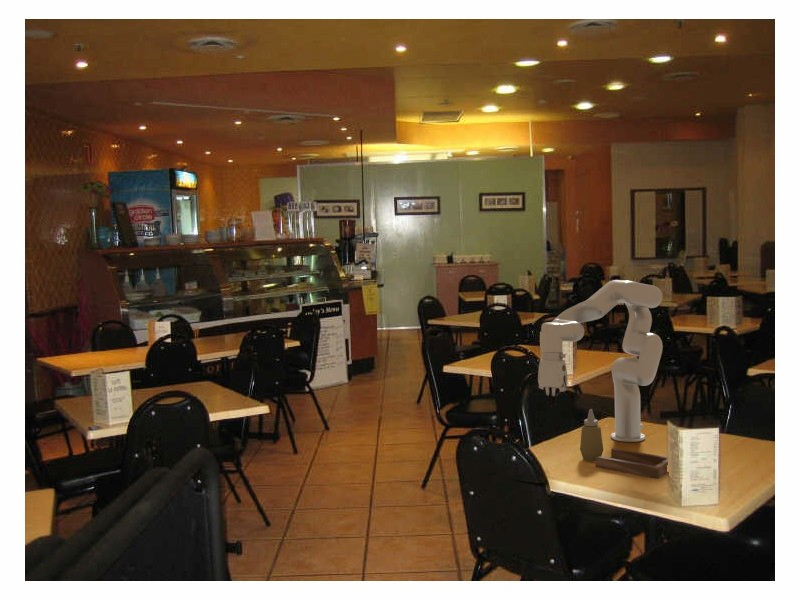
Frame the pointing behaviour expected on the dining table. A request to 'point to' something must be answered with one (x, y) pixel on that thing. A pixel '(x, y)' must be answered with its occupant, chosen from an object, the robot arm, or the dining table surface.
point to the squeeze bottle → (591, 439)
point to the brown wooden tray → (634, 463)
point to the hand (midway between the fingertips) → (552, 405)
